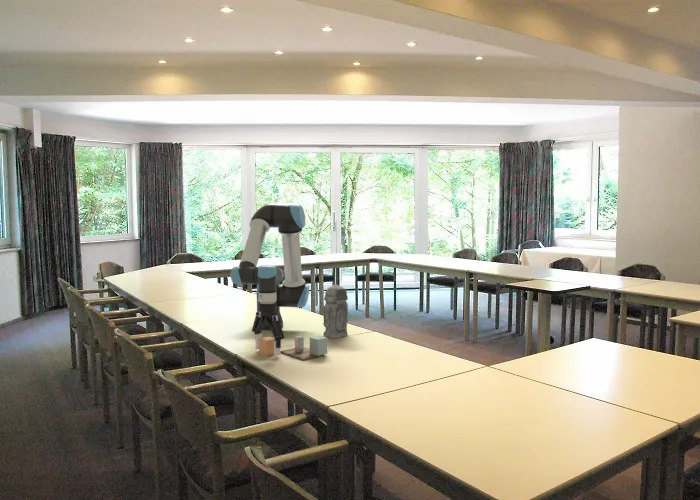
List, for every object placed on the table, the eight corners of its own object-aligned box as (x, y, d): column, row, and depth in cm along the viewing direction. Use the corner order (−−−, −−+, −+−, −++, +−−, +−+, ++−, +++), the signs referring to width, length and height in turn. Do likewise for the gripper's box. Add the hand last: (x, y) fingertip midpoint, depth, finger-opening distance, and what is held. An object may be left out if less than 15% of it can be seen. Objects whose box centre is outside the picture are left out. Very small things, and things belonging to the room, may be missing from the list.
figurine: (352, 334, 270) (352, 283, 268) (331, 339, 260) (331, 286, 258) (338, 331, 277) (338, 281, 275) (317, 336, 266) (317, 284, 264)
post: (294, 351, 236) (294, 337, 235) (299, 350, 238) (299, 336, 237) (298, 352, 234) (298, 338, 234) (303, 351, 236) (303, 337, 235)
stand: (280, 352, 237) (280, 350, 237) (300, 348, 244) (300, 346, 244) (303, 360, 225) (303, 358, 225) (324, 355, 232) (324, 353, 232)
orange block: (259, 353, 235) (259, 338, 234) (269, 351, 238) (269, 336, 238) (266, 356, 231) (266, 340, 230) (276, 354, 235) (276, 338, 234)
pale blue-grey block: (309, 353, 233) (309, 337, 232) (319, 351, 236) (319, 335, 236) (317, 355, 229) (317, 339, 229) (327, 353, 233) (327, 337, 232)
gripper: (243, 299, 239) (244, 347, 241) (277, 307, 221) (277, 359, 223) (258, 297, 244) (258, 344, 246) (292, 305, 226) (292, 356, 228)
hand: (267, 352), depth 235 cm, fingers open, 13 cm apart
